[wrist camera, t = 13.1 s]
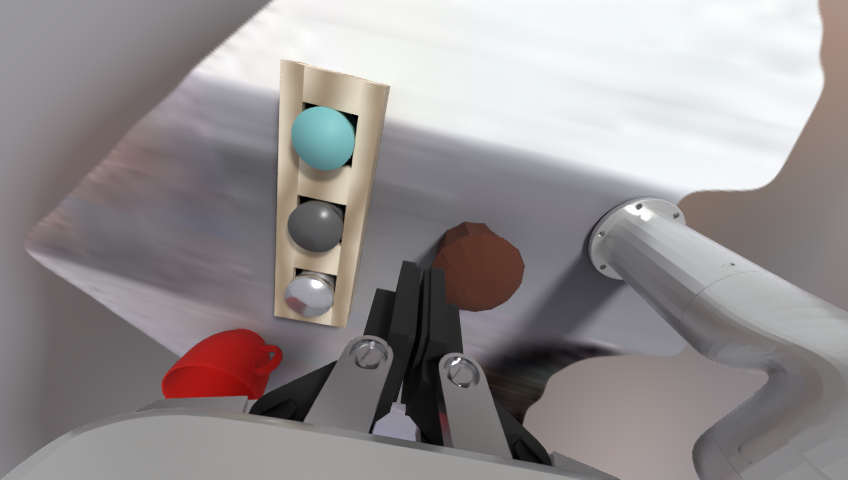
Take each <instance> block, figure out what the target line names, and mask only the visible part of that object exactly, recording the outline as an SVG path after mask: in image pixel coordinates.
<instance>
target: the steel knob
mask: <svg viewBox="0 0 848 480" xmlns="http://www.w3.org/2000/svg"><path fill="white" fill-rule="evenodd" d="M336 280H337V275H332V274H327V273H321V272H316V271H311V270H306V269H303V270H302V271H301V273H300V275H298V276H296V277H294V278H293V279H292V280H291V281H290V283H289V284H288V286H287V288H286V289H285V294H284V296H285V300H286V303H287V304H288V306H289V307H290V308H291V309H292V310H293V311H295V312H296V313H298V314H301V315H303V316H308V317H316V316H321V315H323V314H325V313H326V312H328V311H329V309H330V308H331V306H332V303H333V301H334V297H335V293H334V288H335V286H336Z"/></svg>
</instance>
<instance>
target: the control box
mask: <svg viewBox="0 0 848 480" xmlns="http://www.w3.org/2000/svg"><path fill="white" fill-rule="evenodd" d="M389 89H390V86H388V85H384V84H380V83H376V82H372V81H369V80H365V79H361V78H357V77H354V76H350V75H346V74H342V73H339V72H335V71H331V70H327V69H323V68H320V67H316V66H312V65H308V64H305V63H301V62H295V61H289V60H282V59H281V70H280V110H279V151H278V191H277V231H276V272H275V312H274V316H278V317H284V318H289V319H295V320H301V321H307V322H313V323H319V324H324V325H330V326H336V327H342V328H346V326H347V323H348V319H349V316H350V313H351V309H352V306H353V301H354V295H355V289H356V283H357V277H358V271H359V265H360V260H361V254H362V248H363V242H364V236H365V230H366V224H367V218H368V213H369V207H370V201H371V195H372V189H373V183H374V177H375V172H376V166H377V160H378V154H379V148H380V142H381V136H382V130H383V125H384V119H385V113H386V107H387V101H388V95H389ZM306 102H307V103H311V104H315V105H319V106H325V107H330V108H333V109H335V110H339V111H343V112H347V113H351V114H355V115H358V123H357V130H356V138H355V148H354V153H353V160H352V166H349V165H345V164H343V165H342V166H341V167H339V168H337V169H333V170H320V169H316V168H314V167H312V166H310V165H308V164H307V163H305V162H304V161H303V160H302V159H301V158H300V157H299V155H298V154H297V152H296V150H295V148H294V146H293V143H292V138H291V131H292V126H293V123H294V121H295V119H296V117H297V116H298V115H299V114H300V113H301V112H303V111H304V110H306ZM301 196H306V197H310V198H315V199H319V200H324V201H329V202H333V203H338V204H342V205H346V213H345V220H344V231H343V235H342V242H338V244H337V245H336V246H335V247H334V248H333V249H331V250H329V251H326V252H320V253H319V252H311V251H308V250H305V249H303V248H301V247H300V246H299V245H297V244H296V243H295V242H294V241H293V239H292V238H291V236H290V234H289V231H288V226H287V223H288V218H289V216H290V214H291V213H292V212H293V211H294V210H295V209H296V208H297V206H299V205H300V200H301ZM296 268H300V269H306V270H311V271H316V272H321V273H327V274H332V275H337V280H336V287H335V297H334V301H333V303H332V306H331V308H330V309H329V311H328V312H326V313H325V314H323V315H321V316H316V317H308V316H303V315H301V314H298V313H296V312H295V311H293V310H292V309H291V308H290V307H289V306H288V304H287V303H286V300H285V296H284V294H285V289H286V288H287V286H288V284H289V283H290V281H291V280H292V279H293V278H294V277H296Z"/></svg>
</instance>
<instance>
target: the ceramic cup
mask: <svg viewBox="0 0 848 480" xmlns="http://www.w3.org/2000/svg"><path fill="white" fill-rule="evenodd" d="M269 352H275V355H274V357H273V359H272V360H271V361H270V356H269ZM282 356H283V354H282V351H281V349H280V348H279V347H277V346H275V345H265V342H264V340H263V339H262V338H261V337H260V336H259V335H258V334H256V333H254V332H252V331H250V330H246V329H235V330H230V331H224V332H221V333H217V334H214V335H212V336H210V337H208V338H206V339H204V340H203V341H201V342H200V343H198V344H197V345H195V346H194V347H193V348H192V349H190V350H189V351H188V352H187V353H186V354H185V355H184V356H183V357H182V358H181V359H180V360H179V361H178V362H177V363H176V364H175V365H174V366H173V367H172V368H171V369H170V370H169V371H168V372H167V373H166V375H165V377H164V378H163V380H162V391H163V394H164V396H165V398H166V399H170V398H198V397H227V396H248V400H258V399H259V398H260V397H262V396H263V393H264V391H265V388H266V385H267V382H268V379H269V375H270V372H272V371H273V370H274V369H276V368H277V366H278V365H279V364H280V362H281V360H282Z"/></svg>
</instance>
